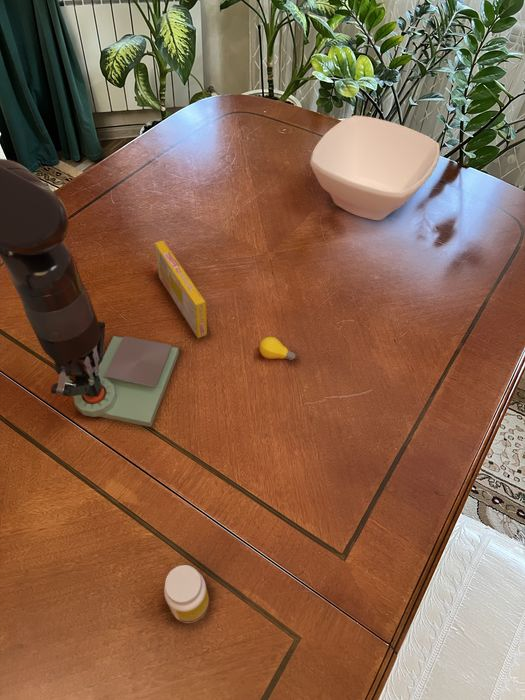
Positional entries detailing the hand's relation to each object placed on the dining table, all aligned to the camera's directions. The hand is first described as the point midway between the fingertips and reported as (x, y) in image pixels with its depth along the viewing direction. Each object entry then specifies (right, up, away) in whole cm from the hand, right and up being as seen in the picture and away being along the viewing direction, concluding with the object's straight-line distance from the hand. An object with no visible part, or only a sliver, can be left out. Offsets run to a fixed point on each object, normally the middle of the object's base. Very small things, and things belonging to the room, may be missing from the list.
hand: (93, 391), depth 84 cm
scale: (+4, +1, +5) cm, 7 cm away
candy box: (+11, +14, +15) cm, 23 cm away
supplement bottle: (+16, -25, -14) cm, 33 cm away
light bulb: (+27, +5, +9) cm, 29 cm away
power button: (0, -1, +1) cm, 2 cm away
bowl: (+46, +36, +32) cm, 67 cm away
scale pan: (+6, +4, +4) cm, 8 cm away
